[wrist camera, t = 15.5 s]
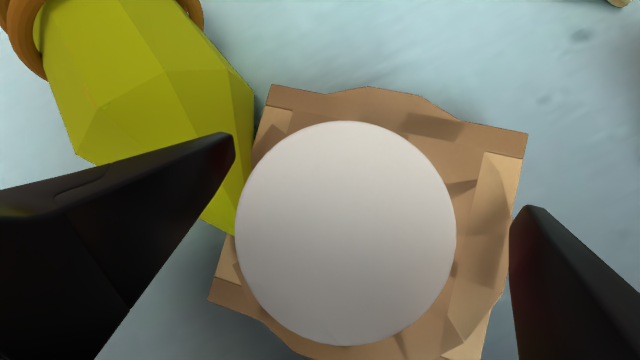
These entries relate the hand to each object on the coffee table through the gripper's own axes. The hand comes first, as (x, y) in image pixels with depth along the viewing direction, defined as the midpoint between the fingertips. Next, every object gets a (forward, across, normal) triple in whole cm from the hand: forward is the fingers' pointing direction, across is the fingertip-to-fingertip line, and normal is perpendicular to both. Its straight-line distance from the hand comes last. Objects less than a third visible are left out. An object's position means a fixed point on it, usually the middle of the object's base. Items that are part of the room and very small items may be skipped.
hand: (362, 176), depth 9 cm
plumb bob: (+9, +14, +3) cm, 17 cm away
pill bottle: (+5, 0, +7) cm, 8 cm away
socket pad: (+5, 0, +7) cm, 8 cm away
